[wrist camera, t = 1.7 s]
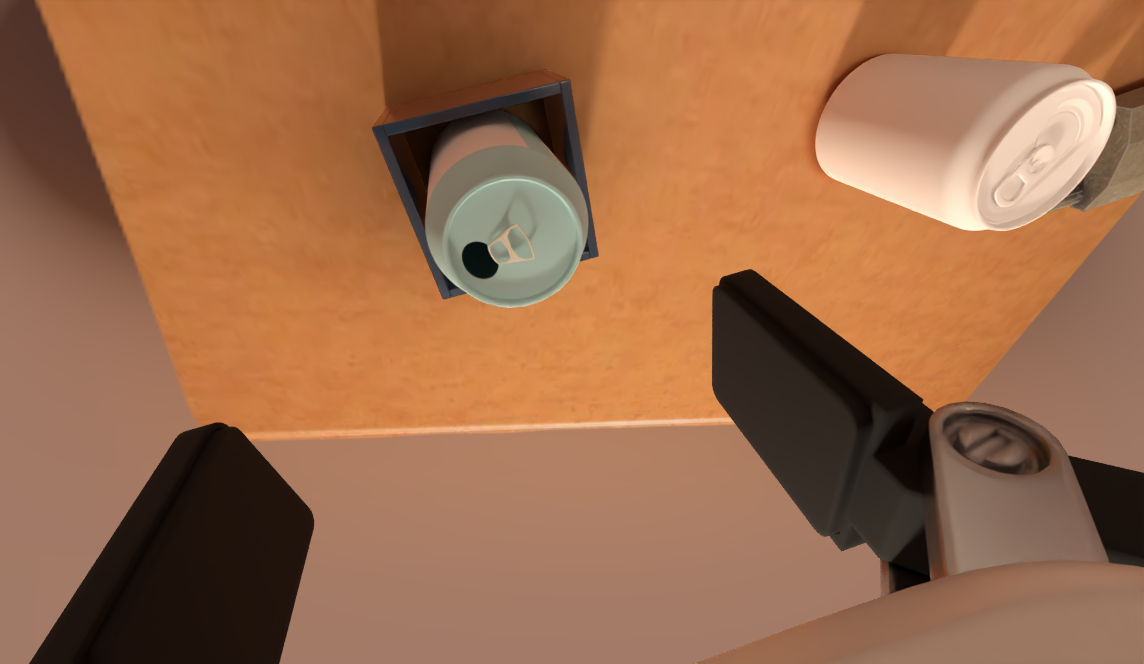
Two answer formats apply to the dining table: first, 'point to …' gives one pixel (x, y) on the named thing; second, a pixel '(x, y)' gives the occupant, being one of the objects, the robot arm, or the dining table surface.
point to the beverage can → (965, 135)
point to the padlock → (1115, 159)
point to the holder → (472, 103)
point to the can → (502, 211)
